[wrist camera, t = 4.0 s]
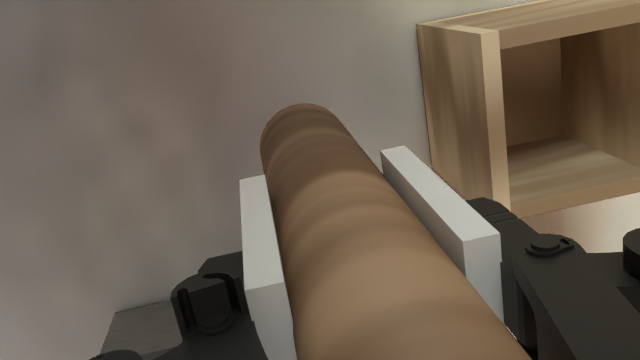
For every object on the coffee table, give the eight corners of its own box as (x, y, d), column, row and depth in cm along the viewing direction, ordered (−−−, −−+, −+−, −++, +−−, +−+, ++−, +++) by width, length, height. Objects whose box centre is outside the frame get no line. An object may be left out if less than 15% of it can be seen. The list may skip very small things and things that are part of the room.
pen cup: (416, 23, 24) (480, 33, 18) (561, -4, 25) (674, -4, 19) (432, 168, 27) (495, 224, 20) (566, 140, 27) (668, 185, 21)
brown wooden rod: (251, 113, 23) (313, 476, 6) (339, 95, 23) (636, 393, 6) (269, 196, 24) (361, 694, 7) (353, 178, 24) (630, 615, 7)
